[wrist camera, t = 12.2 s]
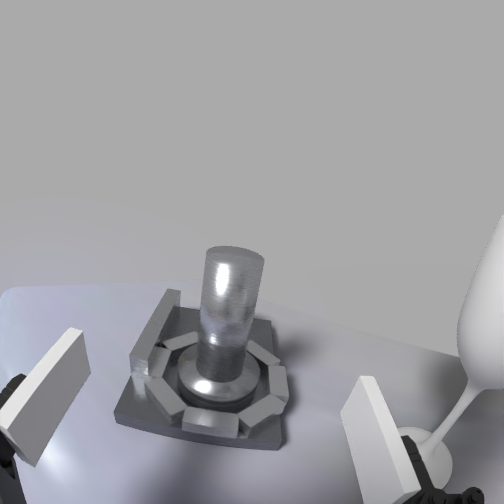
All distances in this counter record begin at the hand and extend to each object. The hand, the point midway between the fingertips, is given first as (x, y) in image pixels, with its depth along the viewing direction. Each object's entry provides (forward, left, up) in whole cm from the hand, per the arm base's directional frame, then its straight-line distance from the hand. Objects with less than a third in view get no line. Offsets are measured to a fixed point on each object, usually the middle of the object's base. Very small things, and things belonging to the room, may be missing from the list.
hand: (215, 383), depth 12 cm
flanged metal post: (0, -9, -9) cm, 13 cm away
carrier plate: (+1, -12, -11) cm, 16 cm away
